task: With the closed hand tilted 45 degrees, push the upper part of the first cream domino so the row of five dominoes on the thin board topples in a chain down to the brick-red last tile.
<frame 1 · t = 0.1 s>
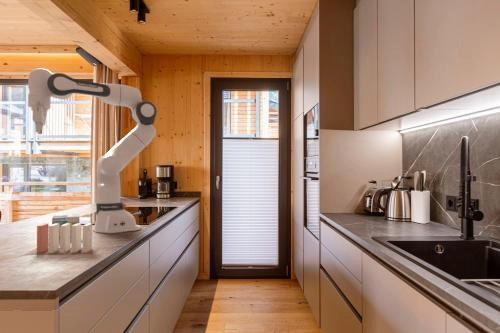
hand: (39, 133, 153), 48 cm above the counter, tool pointing down, fingers open, 8 cm apart
domino 2: (76, 250, 124), point 1 cm above the counter, touching thin board
domino 4: (53, 251, 123), point 1 cm above the counter, touching thin board
domino 1: (87, 250, 125), point 1 cm above the counter, touching thin board
thin board: (63, 253, 124), on the counter
domino 3: (65, 250, 124), point 1 cm above the counter, touching thin board
domino 5: (42, 251, 123), point 1 cm above the counter, touching thin board
light bulb box: (65, 240, 146), on the counter
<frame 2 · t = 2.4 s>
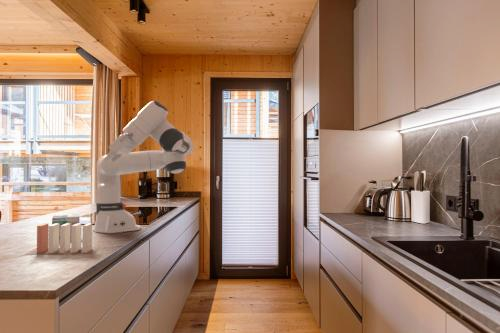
hand: (109, 160, 127), 35 cm above the counter, tool tilted 40°, fingers open, 8 cm apart
nothing on the counter moved.
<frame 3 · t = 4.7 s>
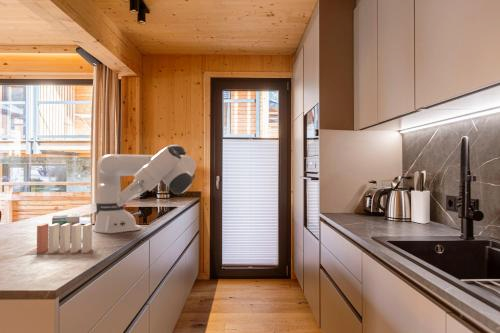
hand: (118, 205, 126), 18 cm above the counter, tool tilted 45°, fingers closed
nothing on the counter moved.
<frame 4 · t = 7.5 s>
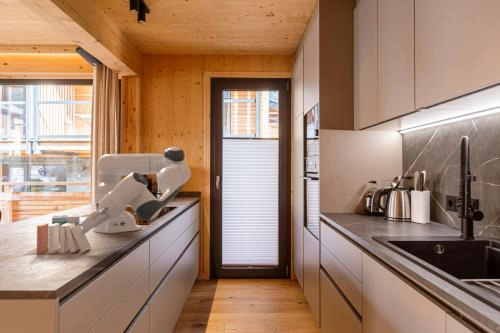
hand: (83, 232, 124), 8 cm above the counter, tool tilted 45°, fingers closed
domino 2: (76, 250, 124), point 1 cm above the counter, tilted 14°, touching thin board
domino 1: (87, 249, 125), point 1 cm above the counter, tilted 27°, touching thin board
everything else where it was.
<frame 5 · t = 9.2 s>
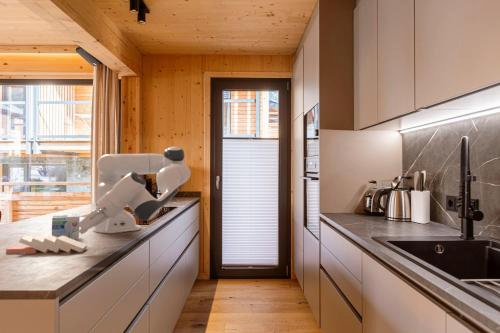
hand: (81, 232, 124), 8 cm above the counter, tool tilted 45°, fingers closed
domino 2: (72, 248, 124), point 2 cm above the counter, tilted 66°, touching domino 1, domino 3, thin board
domino 4: (49, 249, 123), point 2 cm above the counter, tilted 66°, touching domino 3, domino 5
domino 1: (84, 248, 125), point 2 cm above the counter, tilted 67°, touching domino 2, thin board
domino 3: (61, 249, 124), point 2 cm above the counter, tilted 66°, touching domino 2, domino 4, thin board
domino 5: (39, 249, 123), point 2 cm above the counter, tilted 90°, touching domino 4, thin board
everything else where it was.
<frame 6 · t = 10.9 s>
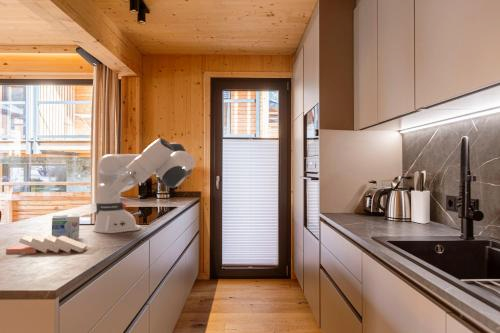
hand: (110, 197, 125), 22 cm above the counter, tool tilted 45°, fingers closed
nothing on the counter moved.
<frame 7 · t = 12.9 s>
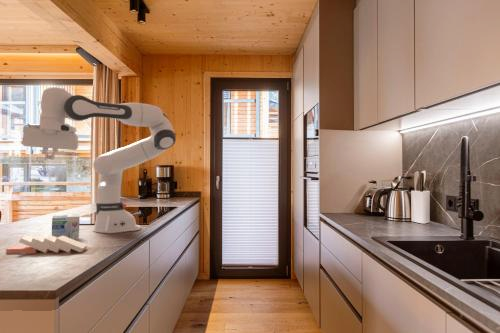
hand: (49, 159, 136), 36 cm above the counter, tool pointing down, fingers closed
nothing on the counter moved.
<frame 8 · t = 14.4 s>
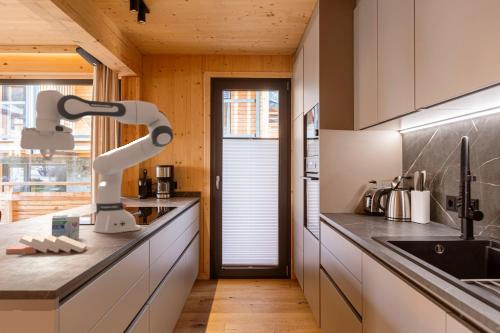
hand: (47, 160, 138), 35 cm above the counter, tool pointing down, fingers closed
nothing on the counter moved.
at the end: domino 5 tilted 90°; domino 1 tilted 67°; light bulb box moved 0.3 cm from its start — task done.
